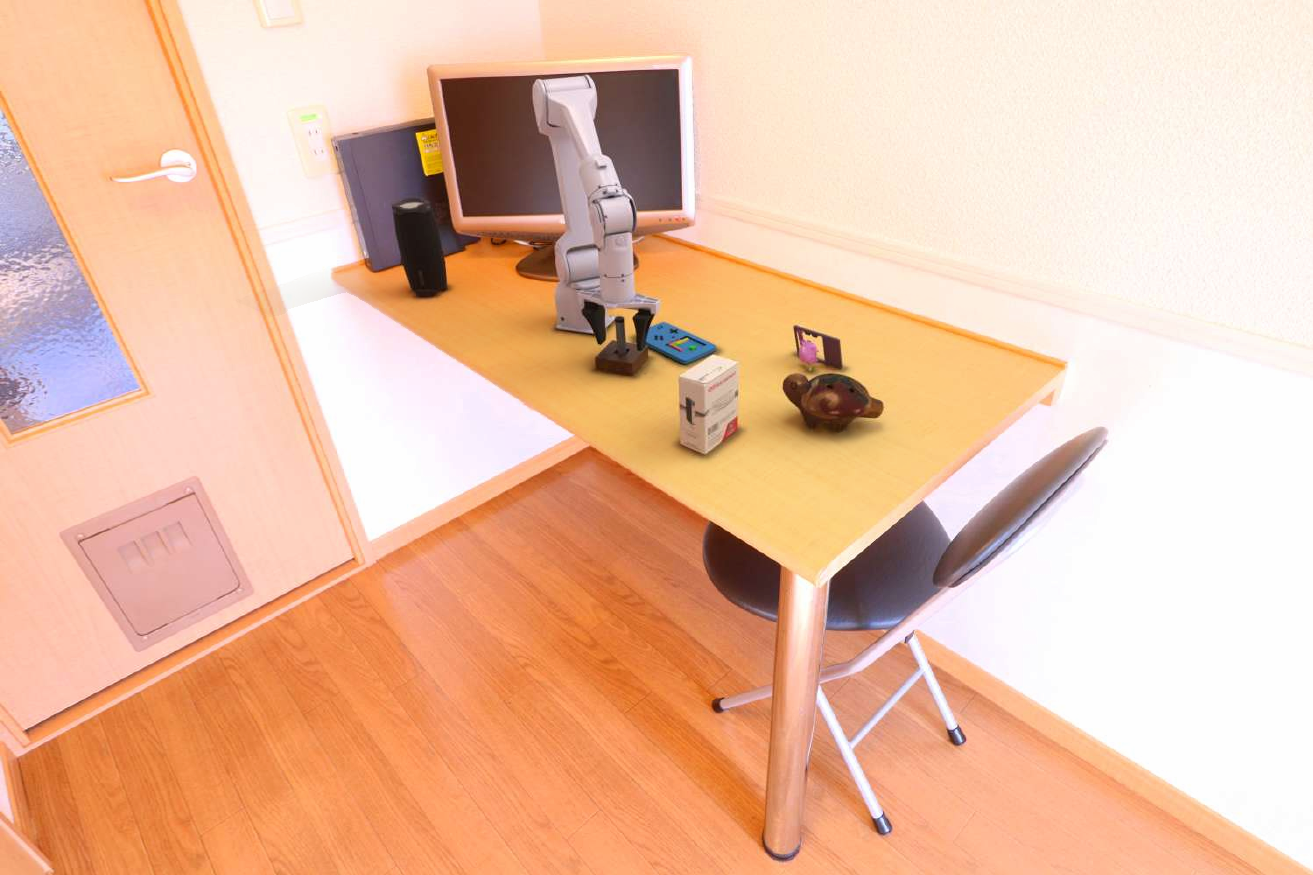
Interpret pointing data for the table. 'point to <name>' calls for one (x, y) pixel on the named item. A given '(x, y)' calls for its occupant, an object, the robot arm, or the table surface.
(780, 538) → the table surface
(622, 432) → the table surface
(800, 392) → the decorative turtle
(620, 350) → the dark grey cylinder rod
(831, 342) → the purple frame with figurine
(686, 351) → the handheld gaming device
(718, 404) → the ink box
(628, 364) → the brown block with hole
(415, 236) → the portable speaker
